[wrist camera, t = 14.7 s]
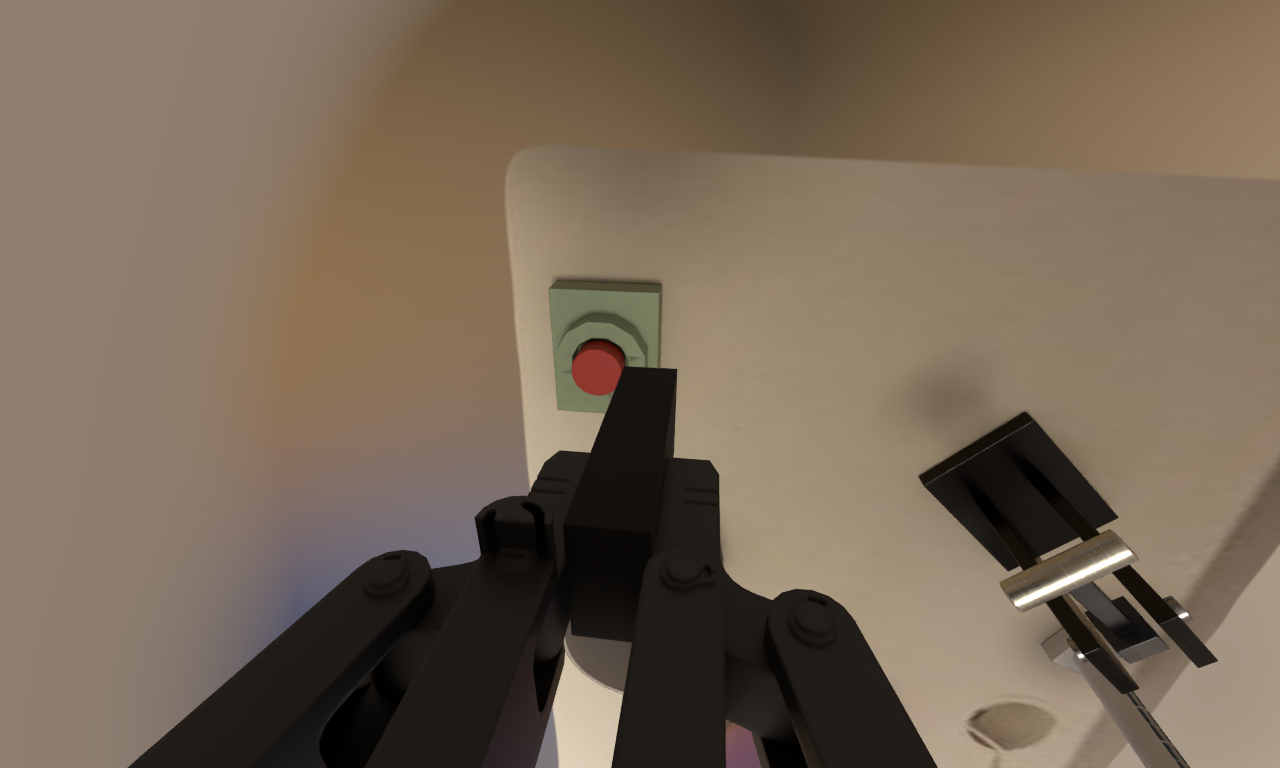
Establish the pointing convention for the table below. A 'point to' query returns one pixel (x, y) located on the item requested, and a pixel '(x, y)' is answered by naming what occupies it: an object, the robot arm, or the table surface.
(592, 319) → the button base
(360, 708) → the robot arm
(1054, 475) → the bracket
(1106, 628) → the lever
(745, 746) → the ball
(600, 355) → the button
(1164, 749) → the model tower
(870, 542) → the table surface
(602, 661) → the planter
